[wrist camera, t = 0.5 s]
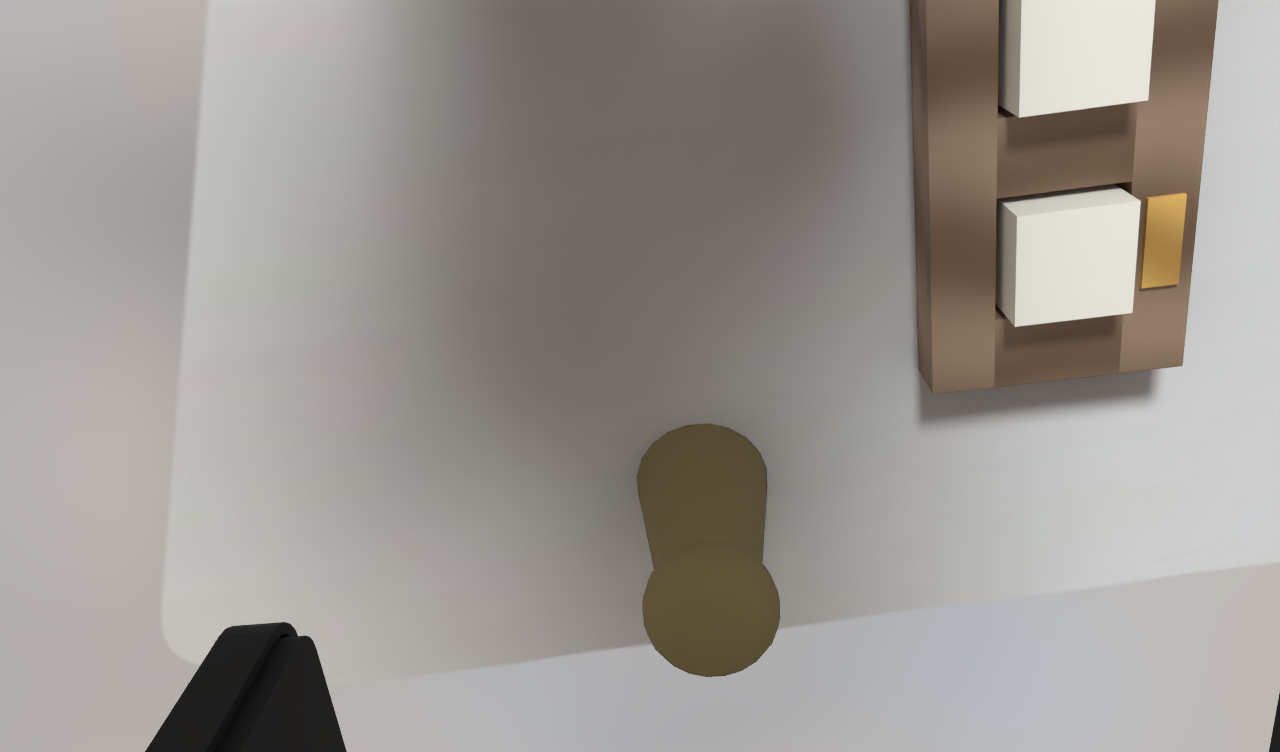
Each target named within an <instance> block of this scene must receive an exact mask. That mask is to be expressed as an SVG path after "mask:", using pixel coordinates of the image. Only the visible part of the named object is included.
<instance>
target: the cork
mask: <svg viewBox="0 0 1280 752" xmlns="http://www.w3.org/2000/svg"><path fill="white" fill-rule="evenodd" d="M637 482H638V492H639V498H640V503H641V508H642V512H643V517H644V522H645V527H646V532H647V537H648V542H649V546H650V551H651V556H652V561H653V566H654V571H653V572H652V574H651V576H650V578H649V580H648V583H647V587H646V590H645V593H644V597H643V617H644V626H645V629H646V631H647V634H648V636H649V638H650V640H651V642H652V644H653V646H654V647H655V649H656V650H657V651H658V652H659V653H660V654H661V655H662V656H663V657H664V658H665V659H666V660H667V661H669V662H670V663H671V664H672V665H673V666H675V667H677V668H679V669H681V670H683V671H685V672H687V673H690V674H695V675H700V676H705V677H712V676H726V675H729V674H732V673H736V672H739V671H742V670H743V669H745V668H747V667H748V666H750V665H751V664H753V663H755V662H756V661H757V660H758V659H759V658H760V657H761V656H762V655H763V653H764V652H765V651H766V650H767V649H768V647H769V646H770V645H771V644H772V642H773V639H774V637H775V634H776V631H777V629H778V625H779V620H780V601H779V595H778V591H777V588H776V586H775V584H774V582H773V579H772V577H771V575H770V573H769V572H768V570H767V568H766V567H765V566H764V565H763V564H762V558H763V543H764V528H765V512H766V497H767V468H766V466H765V464H764V461H763V459H762V457H761V454H760V452H759V451H758V450H757V449H756V448H755V446H754V445H753V444H752V443H751V442H750V441H749V440H748V439H747V438H746V437H744V436H742V435H740V434H739V433H737V432H735V431H733V430H731V429H730V428H725V427H721V426H716V425H712V424H699V425H687V426H684V427H682V428H679V429H676V430H673V431H670V432H668V433H667V434H665V435H664V436H663V437H661V438H660V439H659V440H657V441H656V442H654V443H653V444H652V445H651V447H650V448H649V450H648V451H647V453H646V454H645V455H644V457H643V458H642V460H641V464H640V467H639V471H638V475H637Z"/></svg>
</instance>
